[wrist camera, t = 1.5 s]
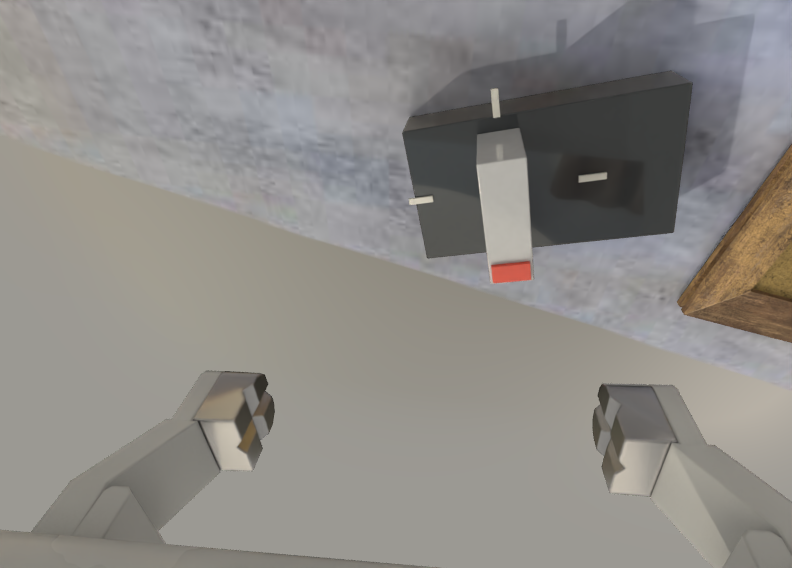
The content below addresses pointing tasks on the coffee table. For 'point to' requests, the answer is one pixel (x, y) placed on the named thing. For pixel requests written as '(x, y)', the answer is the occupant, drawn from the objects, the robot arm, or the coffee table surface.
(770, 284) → the picture frame
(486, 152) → the tap handle
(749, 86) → the coffee table surface
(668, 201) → the panel
